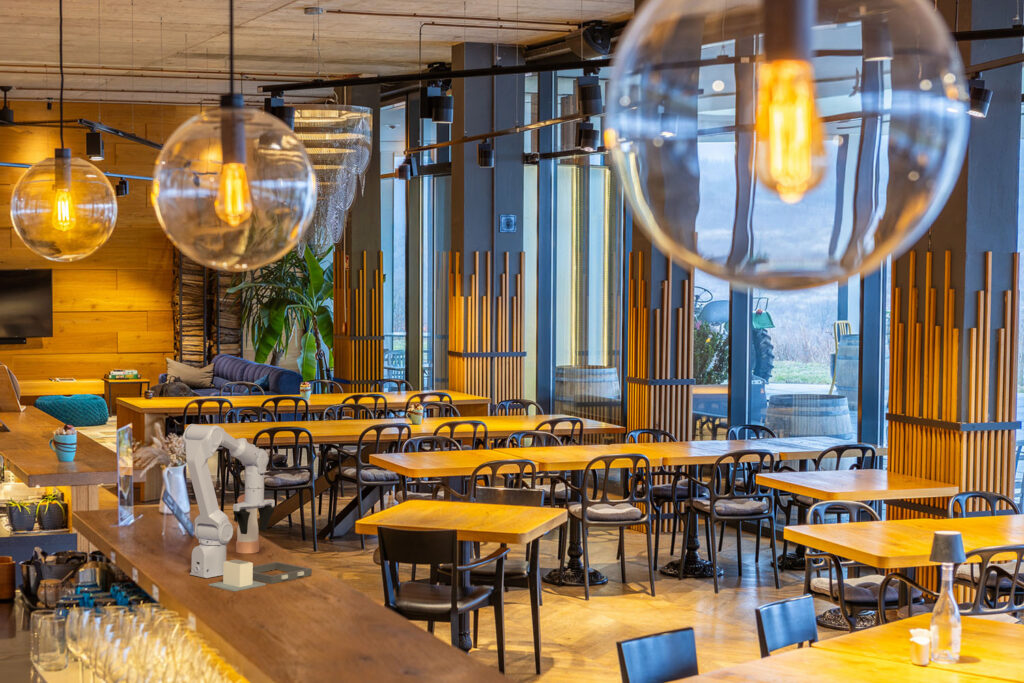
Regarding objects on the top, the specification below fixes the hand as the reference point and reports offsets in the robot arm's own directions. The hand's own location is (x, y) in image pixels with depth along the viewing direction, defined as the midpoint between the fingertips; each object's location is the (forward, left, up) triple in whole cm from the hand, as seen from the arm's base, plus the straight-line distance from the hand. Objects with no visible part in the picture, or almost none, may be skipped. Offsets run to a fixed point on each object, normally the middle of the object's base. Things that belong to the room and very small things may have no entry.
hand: (253, 532), depth 347 cm
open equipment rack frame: (-8, -19, -9) cm, 23 cm away
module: (-23, -21, -9) cm, 32 cm away
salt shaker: (+11, +16, -10) cm, 22 cm away
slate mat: (-23, -21, -9) cm, 33 cm away
